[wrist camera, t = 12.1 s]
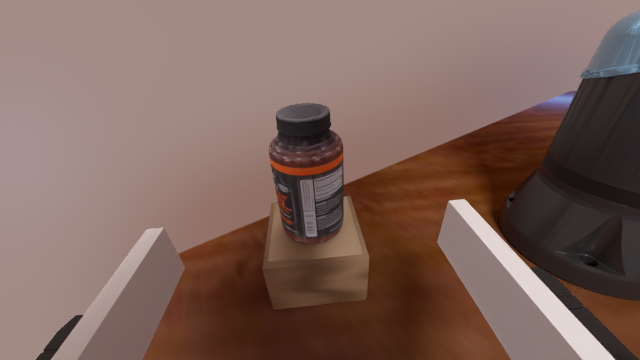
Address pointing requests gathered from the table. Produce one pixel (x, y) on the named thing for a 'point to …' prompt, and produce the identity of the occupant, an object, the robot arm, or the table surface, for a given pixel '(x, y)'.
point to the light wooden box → (315, 265)
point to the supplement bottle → (308, 173)
